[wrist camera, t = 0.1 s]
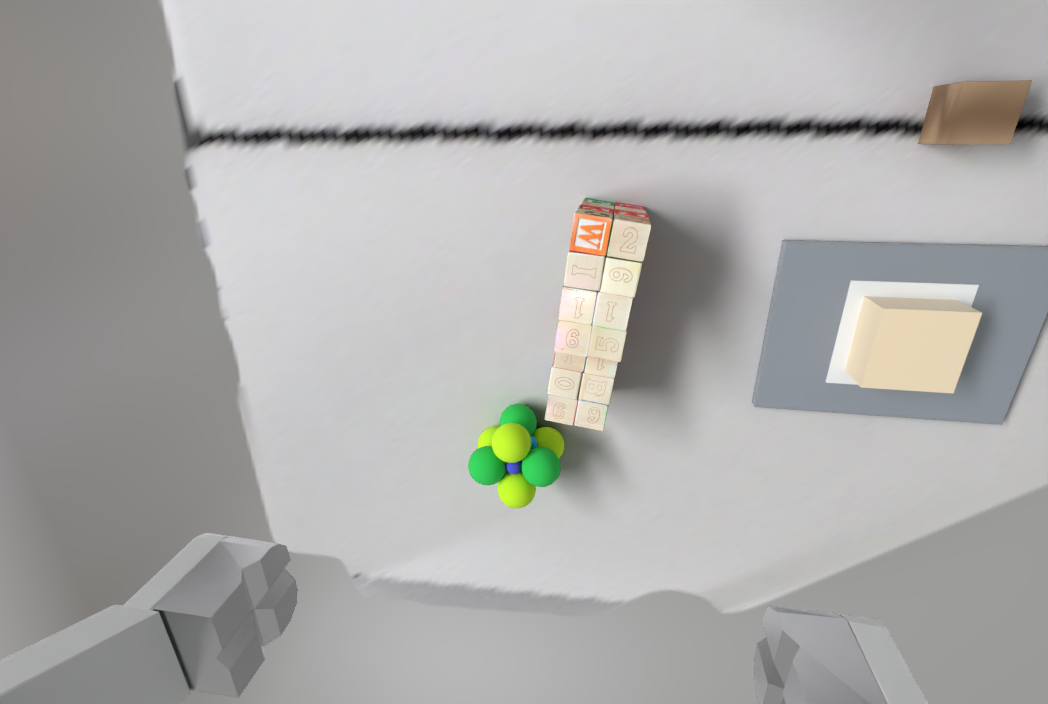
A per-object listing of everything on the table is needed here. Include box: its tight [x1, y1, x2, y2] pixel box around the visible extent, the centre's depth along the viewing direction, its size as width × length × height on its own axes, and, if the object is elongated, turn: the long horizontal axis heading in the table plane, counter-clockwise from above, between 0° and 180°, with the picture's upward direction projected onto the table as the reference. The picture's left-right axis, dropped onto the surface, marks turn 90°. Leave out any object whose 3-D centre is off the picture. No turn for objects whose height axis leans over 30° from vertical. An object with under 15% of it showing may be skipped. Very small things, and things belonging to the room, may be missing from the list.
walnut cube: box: [918, 80, 1032, 144], centre depth 42 cm, size 4×4×4 cm
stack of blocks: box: [545, 198, 651, 431], centre depth 50 cm, size 21×6×12 cm, turn 173°
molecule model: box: [468, 404, 564, 508], centre depth 60 cm, size 9×9×9 cm
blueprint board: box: [752, 240, 1048, 425], centre depth 50 cm, size 18×24×5 cm
